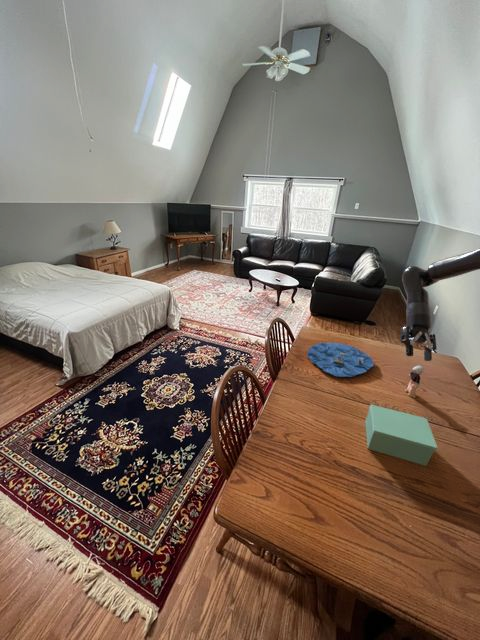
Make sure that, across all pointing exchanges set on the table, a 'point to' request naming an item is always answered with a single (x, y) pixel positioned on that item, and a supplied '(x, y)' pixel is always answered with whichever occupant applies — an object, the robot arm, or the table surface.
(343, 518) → the table surface
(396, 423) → the lunchbox lid
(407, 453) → the block
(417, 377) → the grandmother figurine
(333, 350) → the blue sea diorama
